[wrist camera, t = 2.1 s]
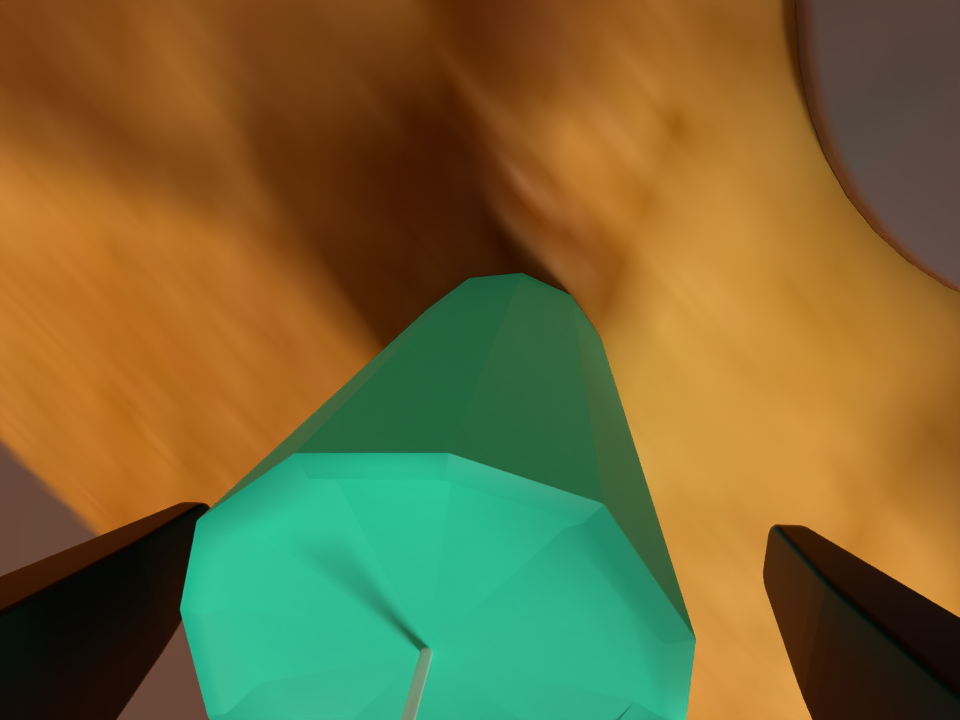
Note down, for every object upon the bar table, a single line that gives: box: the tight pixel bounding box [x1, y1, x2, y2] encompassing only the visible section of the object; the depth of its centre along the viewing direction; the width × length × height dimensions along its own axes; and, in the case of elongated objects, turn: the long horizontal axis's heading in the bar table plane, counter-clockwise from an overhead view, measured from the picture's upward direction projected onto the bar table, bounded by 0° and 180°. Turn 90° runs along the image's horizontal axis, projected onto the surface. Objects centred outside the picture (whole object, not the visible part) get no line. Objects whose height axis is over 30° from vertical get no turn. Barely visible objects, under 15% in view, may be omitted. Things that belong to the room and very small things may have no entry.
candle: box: [180, 273, 696, 720], centre depth 10 cm, size 6×6×12 cm
